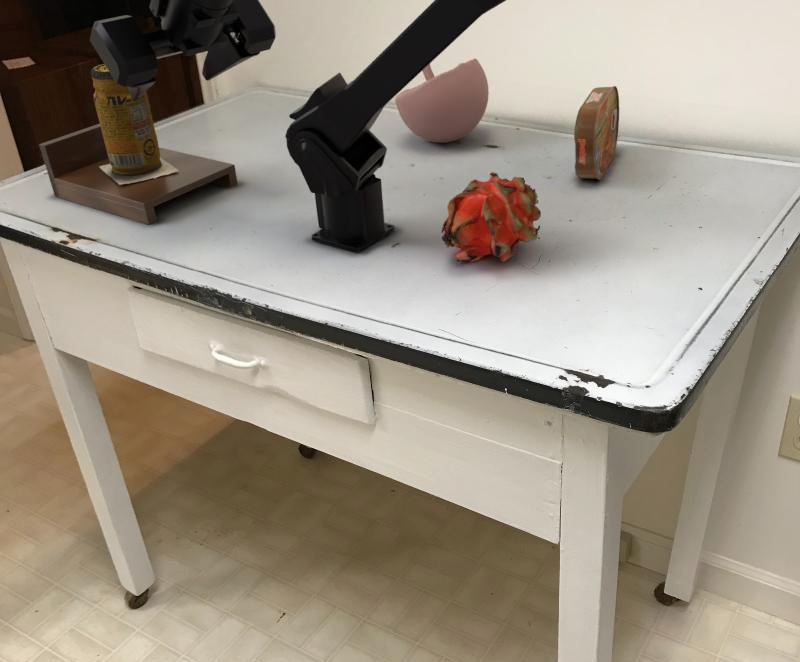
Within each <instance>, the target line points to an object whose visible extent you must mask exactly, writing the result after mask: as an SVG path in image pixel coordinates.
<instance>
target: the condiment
mask: <svg viewBox="0 0 800 662" xmlns="http://www.w3.org/2000/svg"><path fill="white" fill-rule="evenodd" d="M90 76H91V79H92V85H93V89H95V91H94V93H93V102H94V106H95V110H96V114H97V117H98V122H99V124H100V126H101V130H102V134H103V138H104V142H105V145H106V149H107V154H108V157H109V161H110V164H108V165H103V166H100V168H101V169H102V170H103V171H104V172H105V173H106V174H107V175H108V176H110V177H111V178H112V179H113V180H114V181H116V182H117V183H118V184H119V185H121V184H129V183H134V182H138V181H143V180H147V179H151V178H154V179H155V178H157V177H159V176H162V175H167V174H170V173H173V172H177V171H178V170H177V169H176V168H174V166H172V165H171V164H169V163H167V162H166V161H164V160H163V159H161V158H160V152H159V147H160V146H159V140H158V135H157V133H156V128H155V124H154V119H153V114H152V111H151V105H150V102H149V97H148V93H147V91H146V92H145V93H144V94H143V95H142V96H141V97H140V98H139V99H138V100H135V101H134V100H133V98H132V97H131V95H130V93H129V90H128V87H123V86H121V85H119V84H117V83H116V82H115V80H114V78H113V77H112V75H111V74H110V72H109V70H108V69H107V67H106V66H105V64H104V63H102V64H98V65H95V66H94V67H92V68H91V70H90Z"/></svg>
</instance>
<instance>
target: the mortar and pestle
mask: <svg viewBox="0 0 800 662" xmlns="http://www.w3.org/2000/svg"><path fill="white" fill-rule="evenodd" d="M421 73H422V74H423V77H424V79H425V81H424V82H422V83H420V84H418V85H417V86H414V87H412V88H408V89H404V90H403V91H400V92H399V93H398V94H397V95H395V97H394V98H395V99H394V101H395V106H396V108H397V111H398V114H399V116H400V118H401V120H402V121H403V123H404V124H405V126H406V127H407V128H408V130H410V131H411V132H412V133H413V134H414V135H416V136H417V137H419V138H421V139H423V140H425V141H429V142H432V143H440V144H441V143H451V142H455V141H457V140H460V139H462V138H464V137H466V136H467V135H469V134H470V133H471V132H472V131H473V130H474V129H476V127H477V126H478V125H479V124H480V123H481V121H482V119H483V117H484V115H485V113H486V110H487V107H488V102H489V94H490V93H489V81H488V79H487V78H488V77H487V76H486V72H485V70H484V68H483V67H482V65H481V63H480V61H479V60H478V59H477V58H473V59H470V60H467V61H466V62H460V63H459V64H458V65H456V66H455V67H454V68H451V69H450V70H448V71H444V72H442V73H439V74H437V75H435V74H434V72H433V69H432V66H431V63H430V64H429V65H428V66H427V67H426V68H425V69H423V70H422V71H421Z"/></svg>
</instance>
